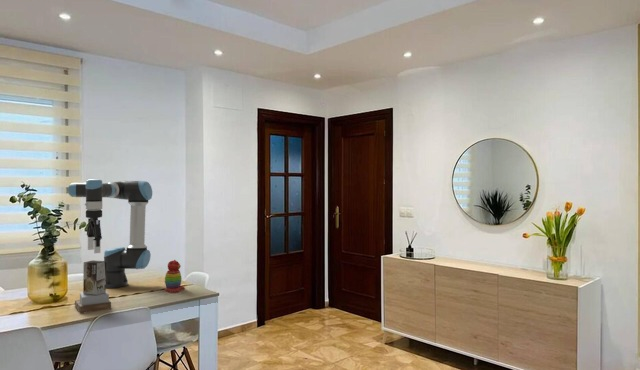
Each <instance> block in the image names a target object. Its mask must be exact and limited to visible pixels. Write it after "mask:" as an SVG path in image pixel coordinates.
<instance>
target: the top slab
mask: <svg viewBox="0 0 640 370" xmlns="http://www.w3.org/2000/svg"><path fill="white" fill-rule="evenodd" d="M109 296H110V294H109V292H108V291H107V290H106V293H102V294H98V295H93V294H83V291H81V292H79V300H80V301H81V304H82V306H83V305H91V304H99V303H106V302H109V301H110V297H109Z"/></svg>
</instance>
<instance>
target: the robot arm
mask: <svg viewBox="0 0 640 370" xmlns="http://www.w3.org/2000/svg"><path fill="white" fill-rule="evenodd" d="M67 193H68V195H69V196H70V197H71V198H72V197H73V198H85V203H84V206H85V210H86V211H85V218H87V220H88V221H87V228H86V229H87V230H86V236H87V250H89V251H90V250H91V251H92V250H93V254H101V240H102V239H103V236H102V229H101V220H100V218H102V217H103V210H102V209H103V198H110V199H118V200H127V204H129V205H130V212H129V213H130V215H129V216H130V219H129V220H130V221H129V243H128V245H127V246H126V247H125V246H118V247H111V248H107V249H106V250H104V252H103V254H104V255H103V261H106V289H116V288H123V287H126V286H128V285H129V280H128V277H127V275H126V270H143V269H144V270H145V269H146V267H148V265H149V264H150V262H151V261H150V260H151V251H150V250H149V249H148V246H147V245H146V244H145V240H146V239H145V238H146V237H145V235H146V210H147V209H146V206H147V205H148V204H149V201H150V200H151V199H152V197H153V188H152V185H151V183H150V182H148V181H145V180H120V181H119V180H118V181H111V182H103V180H102V179H87V180H85V182H72V183H70V184H69V186H68V189H67Z"/></svg>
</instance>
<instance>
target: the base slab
mask: <svg viewBox="0 0 640 370" xmlns="http://www.w3.org/2000/svg"><path fill="white" fill-rule="evenodd" d="M74 308H75V309H76V311H78V313H79V312H80V313H79V314H85V313H84V312H86V313H92V312H98V311H104V310H109V309H112V301H111V300H109V302H106V303H99V304H91V305H83V306H82V304H81V301H80V299H76V300H74ZM91 311H92V312H91Z"/></svg>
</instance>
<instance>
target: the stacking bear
mask: <svg viewBox="0 0 640 370" xmlns="http://www.w3.org/2000/svg"><path fill="white" fill-rule="evenodd" d="M180 268H181V263H179V262H178V261H177V260H176V259H174V260H171V261H169V262H168V263H167V269H168V270H167V271H166V273H165V277H164V285H165V289H164V291H165V292H166V293H173V294H177V293H180V291H184V290H185V289H186V287H185V286H183V285H182V275H181V271H180Z"/></svg>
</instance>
